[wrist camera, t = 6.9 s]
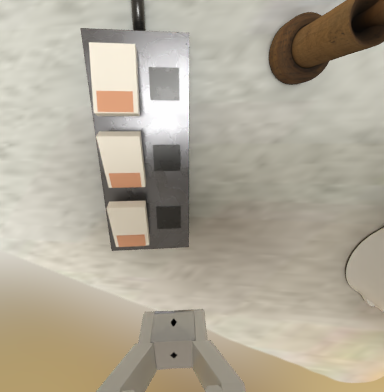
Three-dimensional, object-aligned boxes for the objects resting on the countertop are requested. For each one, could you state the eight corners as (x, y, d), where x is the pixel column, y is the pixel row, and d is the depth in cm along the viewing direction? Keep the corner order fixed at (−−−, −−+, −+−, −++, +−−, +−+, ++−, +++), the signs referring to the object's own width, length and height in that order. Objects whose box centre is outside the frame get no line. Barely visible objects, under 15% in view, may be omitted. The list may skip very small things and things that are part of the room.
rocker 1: (137, 50, 21) (134, 43, 20) (139, 116, 22) (137, 112, 21) (93, 49, 21) (88, 41, 19) (97, 115, 22) (93, 112, 20)
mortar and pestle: (264, 29, 25) (454, -138, 8) (319, 12, 25) (619, -187, 8) (272, 91, 28) (432, 57, 11) (322, 76, 28) (560, 19, 11)
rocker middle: (140, 131, 22) (139, 137, 21) (146, 180, 26) (145, 187, 25) (99, 131, 22) (95, 137, 21) (110, 181, 25) (108, 188, 24)
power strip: (185, -24, 23) (190, -57, 18) (186, 232, 33) (189, 250, 29) (85, -31, 22) (63, -67, 18) (118, 234, 32) (110, 254, 28)
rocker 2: (145, 200, 25) (144, 208, 24) (149, 238, 28) (149, 246, 27) (108, 201, 25) (106, 209, 23) (117, 239, 28) (115, 247, 27)
